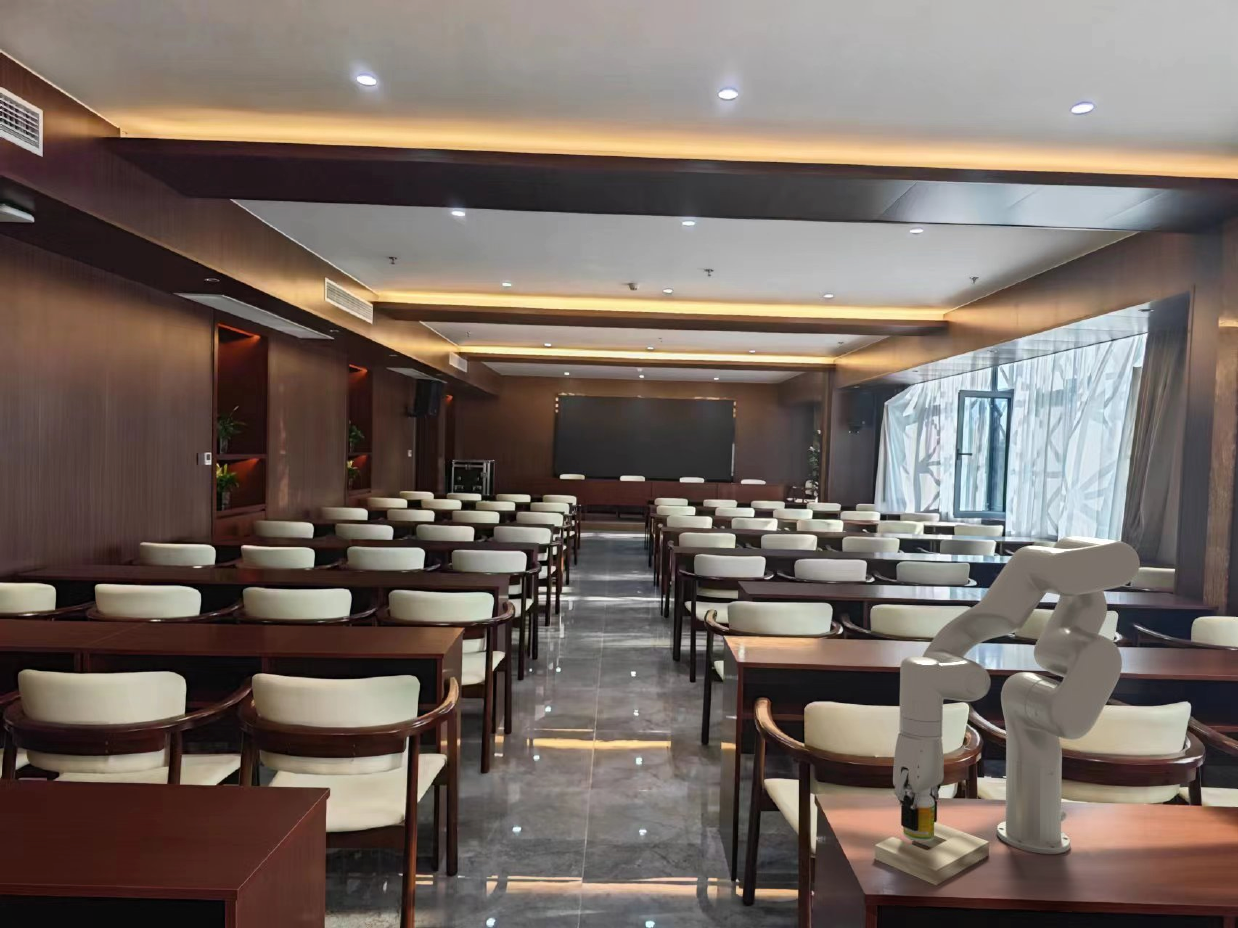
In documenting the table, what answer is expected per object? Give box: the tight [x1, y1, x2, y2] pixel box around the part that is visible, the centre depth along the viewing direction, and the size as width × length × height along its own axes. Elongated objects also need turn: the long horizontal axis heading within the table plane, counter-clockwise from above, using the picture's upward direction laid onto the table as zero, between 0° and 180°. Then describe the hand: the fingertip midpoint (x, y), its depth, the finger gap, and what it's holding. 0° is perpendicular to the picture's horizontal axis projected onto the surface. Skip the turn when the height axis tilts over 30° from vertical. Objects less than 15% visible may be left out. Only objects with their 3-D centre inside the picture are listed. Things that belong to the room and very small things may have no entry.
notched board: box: [874, 821, 990, 886], centre depth 151 cm, size 18×12×2 cm, turn 129°
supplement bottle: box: [902, 785, 935, 843], centre depth 153 cm, size 5×5×10 cm
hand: (919, 823), depth 153 cm, fingers closed on supplement bottle, 5 cm apart
